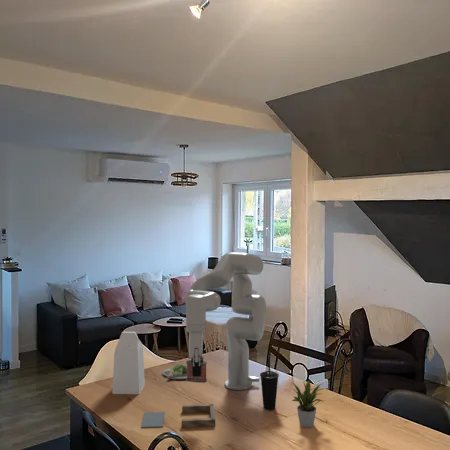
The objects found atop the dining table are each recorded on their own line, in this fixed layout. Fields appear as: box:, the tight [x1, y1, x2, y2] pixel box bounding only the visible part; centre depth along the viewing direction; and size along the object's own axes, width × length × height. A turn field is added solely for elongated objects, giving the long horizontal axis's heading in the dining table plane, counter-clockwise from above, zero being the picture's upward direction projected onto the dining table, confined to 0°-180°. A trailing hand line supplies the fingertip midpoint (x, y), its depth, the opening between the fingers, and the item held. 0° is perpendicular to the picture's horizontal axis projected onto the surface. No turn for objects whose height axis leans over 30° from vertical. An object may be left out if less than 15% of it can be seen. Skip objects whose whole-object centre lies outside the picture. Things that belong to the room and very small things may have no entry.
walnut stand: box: [181, 403, 216, 428], centre depth 174 cm, size 12×14×2 cm
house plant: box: [292, 380, 326, 429], centre depth 168 cm, size 14×14×16 cm
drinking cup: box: [259, 358, 280, 411], centre depth 184 cm, size 8×8×20 cm
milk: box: [111, 331, 146, 395], centre depth 204 cm, size 12×12×26 cm
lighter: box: [185, 354, 208, 384], centre depth 174 cm, size 8×3×10 cm, turn 76°
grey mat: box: [140, 411, 165, 429], centre depth 173 cm, size 8×12×1 cm, turn 5°
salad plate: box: [162, 364, 187, 380], centre depth 222 cm, size 19×18×5 cm
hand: (196, 373), depth 174 cm, fingers closed on lighter, 4 cm apart
